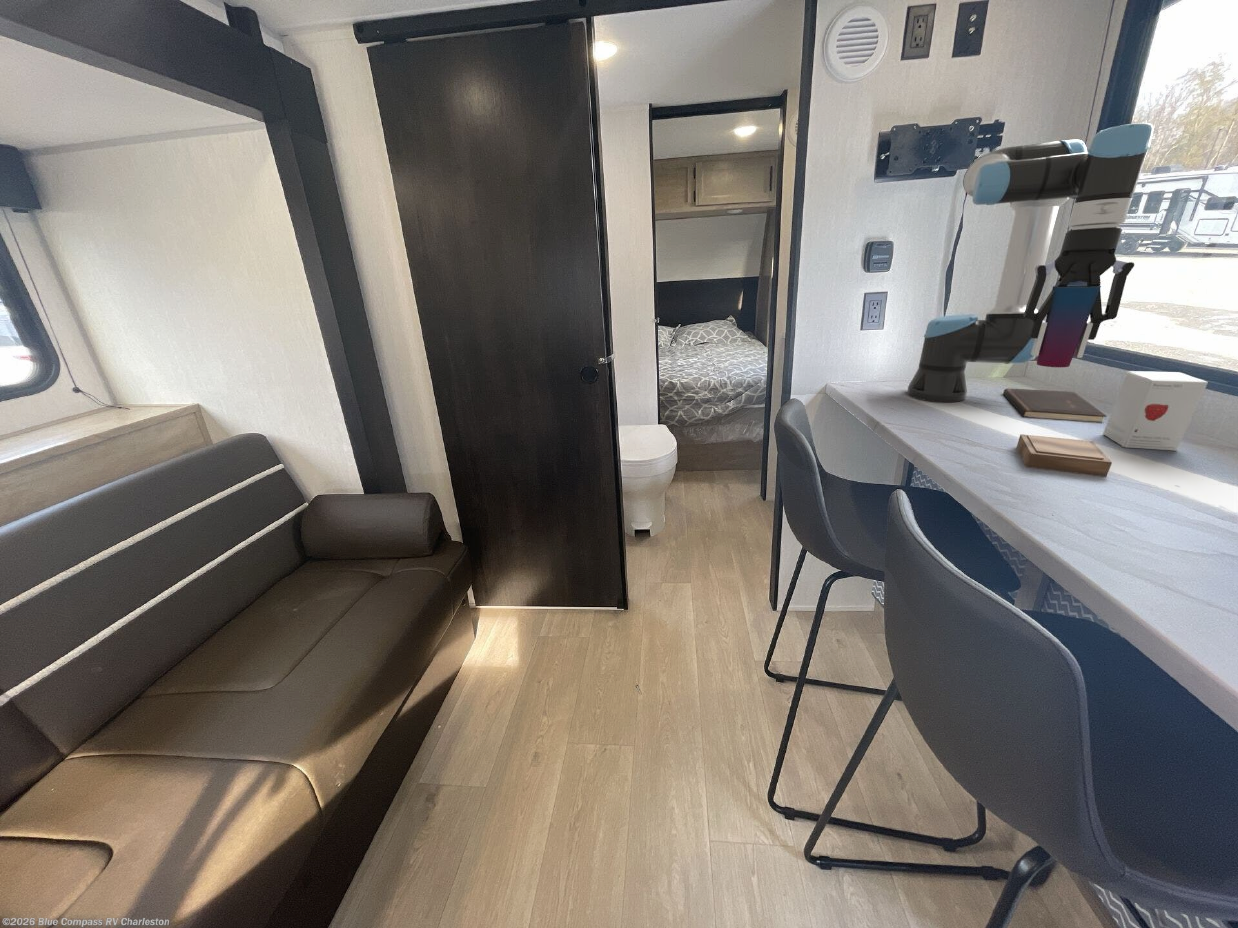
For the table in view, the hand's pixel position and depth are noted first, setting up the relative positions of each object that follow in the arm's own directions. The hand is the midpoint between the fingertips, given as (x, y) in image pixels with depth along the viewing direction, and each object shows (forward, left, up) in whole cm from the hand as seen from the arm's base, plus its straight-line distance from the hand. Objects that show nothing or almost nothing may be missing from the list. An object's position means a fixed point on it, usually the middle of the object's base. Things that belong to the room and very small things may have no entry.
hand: (1055, 355), depth 95 cm
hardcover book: (-40, +11, -22) cm, 46 cm away
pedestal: (+3, +5, -21) cm, 22 cm away
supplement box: (-15, +22, -21) cm, 34 cm away
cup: (0, 0, -2) cm, 2 cm away
